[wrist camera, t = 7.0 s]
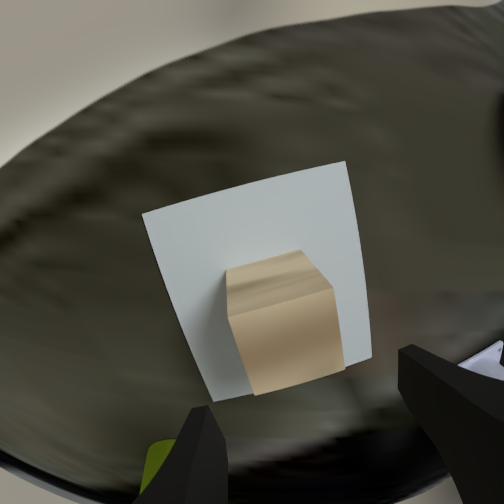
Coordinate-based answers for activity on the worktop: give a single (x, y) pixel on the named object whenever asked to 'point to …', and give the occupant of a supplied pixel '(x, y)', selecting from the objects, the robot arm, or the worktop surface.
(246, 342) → the maple block
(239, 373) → the blue-grey mat
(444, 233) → the worktop surface
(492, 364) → the robot arm
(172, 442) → the soap dispenser
